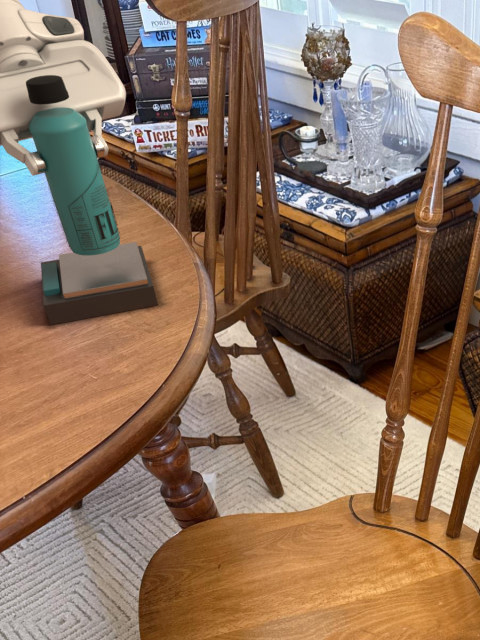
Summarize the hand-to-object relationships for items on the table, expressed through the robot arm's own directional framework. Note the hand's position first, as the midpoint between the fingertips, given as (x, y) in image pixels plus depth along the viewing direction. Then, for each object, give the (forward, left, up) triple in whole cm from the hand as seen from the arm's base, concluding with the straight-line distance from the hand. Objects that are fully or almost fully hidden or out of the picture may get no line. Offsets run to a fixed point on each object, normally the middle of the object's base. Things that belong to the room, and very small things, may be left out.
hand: (72, 162), depth 90 cm
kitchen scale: (-1, -1, -16) cm, 16 cm away
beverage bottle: (-1, 0, -12) cm, 12 cm away
